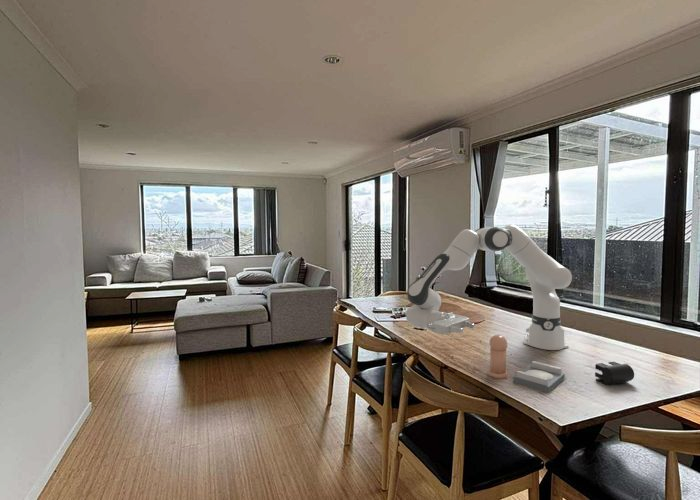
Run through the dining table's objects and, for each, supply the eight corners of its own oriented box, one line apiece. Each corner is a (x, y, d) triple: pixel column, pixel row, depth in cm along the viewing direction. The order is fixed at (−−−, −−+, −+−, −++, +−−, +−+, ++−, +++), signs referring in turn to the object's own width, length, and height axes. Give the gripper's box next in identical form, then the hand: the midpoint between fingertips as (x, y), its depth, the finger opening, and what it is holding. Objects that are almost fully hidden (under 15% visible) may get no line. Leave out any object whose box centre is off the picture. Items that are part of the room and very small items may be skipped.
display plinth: (530, 369, 145) (530, 359, 145) (564, 378, 136) (564, 368, 136) (513, 382, 134) (513, 371, 134) (548, 392, 125) (549, 381, 125)
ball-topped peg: (487, 370, 145) (488, 331, 144) (507, 372, 143) (507, 333, 142) (488, 377, 139) (488, 337, 138) (508, 379, 136) (509, 338, 135)
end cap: (611, 388, 128) (612, 369, 128) (593, 380, 135) (594, 362, 135) (634, 385, 131) (635, 366, 130) (615, 377, 137) (616, 359, 137)
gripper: (424, 318, 151) (454, 325, 141) (451, 311, 165) (480, 316, 155) (424, 333, 152) (454, 341, 142) (451, 325, 166) (480, 331, 156)
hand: (468, 328), depth 149 cm, fingers open, 8 cm apart
